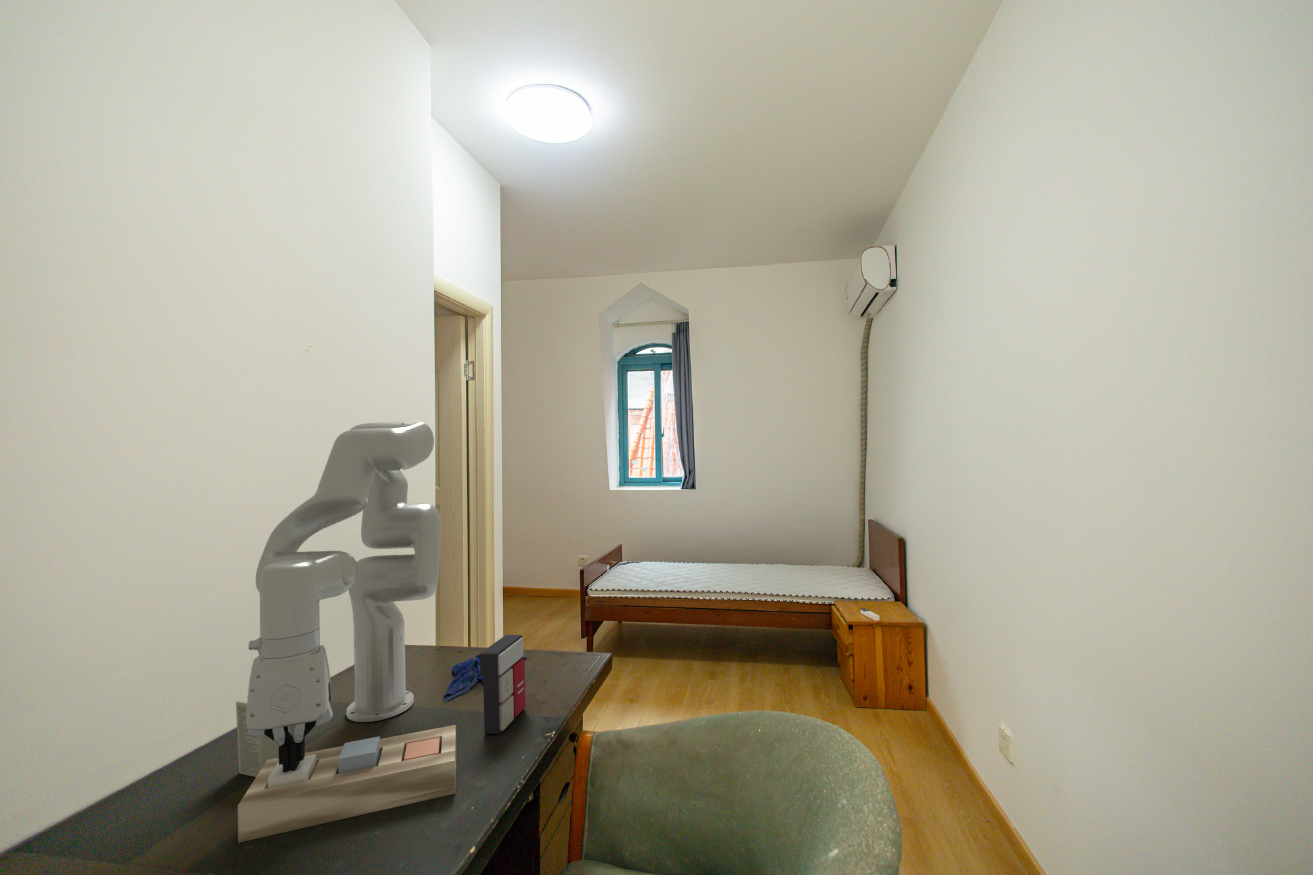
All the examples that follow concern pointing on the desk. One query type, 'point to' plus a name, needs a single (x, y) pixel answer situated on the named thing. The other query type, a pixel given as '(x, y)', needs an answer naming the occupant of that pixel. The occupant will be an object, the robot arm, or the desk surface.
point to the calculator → (503, 682)
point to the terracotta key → (422, 748)
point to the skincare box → (252, 744)
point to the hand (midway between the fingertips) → (292, 766)
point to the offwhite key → (293, 772)
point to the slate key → (359, 755)
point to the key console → (349, 787)
